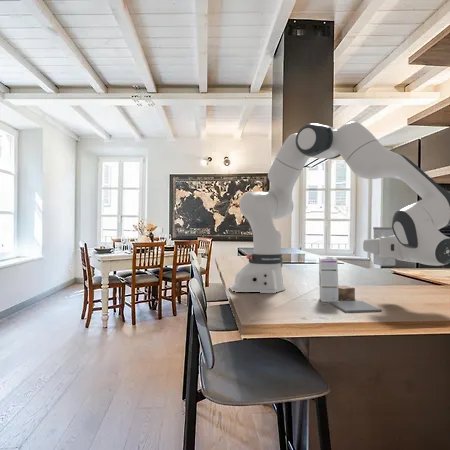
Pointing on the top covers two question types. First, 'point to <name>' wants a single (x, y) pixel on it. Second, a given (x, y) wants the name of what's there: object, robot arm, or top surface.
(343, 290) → the walnut block
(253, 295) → the top surface
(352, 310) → the slate coaster
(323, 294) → the syrup box
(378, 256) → the tea tin
